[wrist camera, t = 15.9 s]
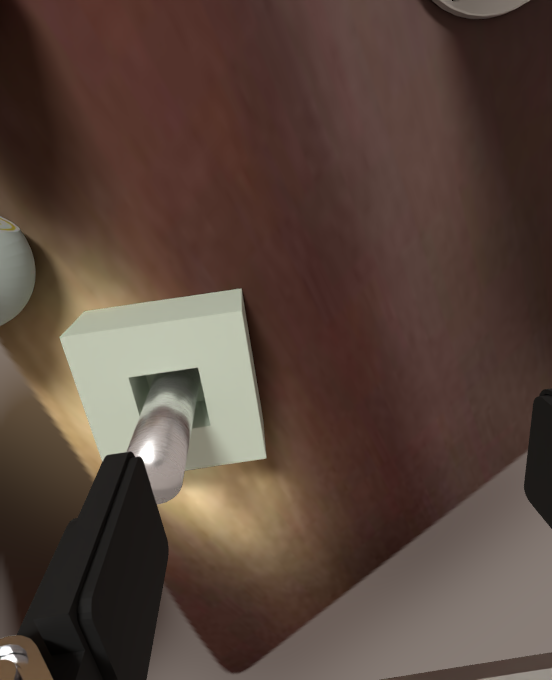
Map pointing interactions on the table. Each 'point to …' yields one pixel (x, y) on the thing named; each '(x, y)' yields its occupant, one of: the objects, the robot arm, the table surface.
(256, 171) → the table surface
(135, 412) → the socket block
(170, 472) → the steel peg
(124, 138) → the table surface
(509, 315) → the table surface
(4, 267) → the air freshener
